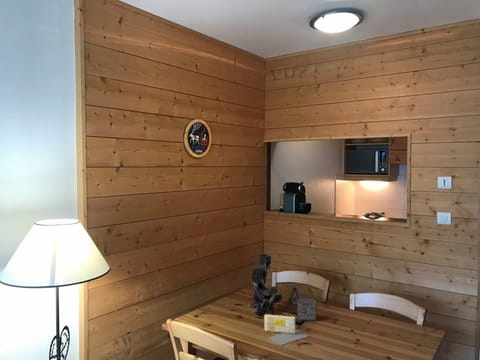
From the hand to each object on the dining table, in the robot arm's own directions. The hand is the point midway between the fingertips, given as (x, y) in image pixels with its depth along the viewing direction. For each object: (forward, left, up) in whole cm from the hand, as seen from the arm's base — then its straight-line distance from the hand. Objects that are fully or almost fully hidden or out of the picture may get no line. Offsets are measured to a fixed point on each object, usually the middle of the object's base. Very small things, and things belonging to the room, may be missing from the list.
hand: (273, 315), depth 203 cm
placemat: (+12, 0, -7) cm, 14 cm away
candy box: (+5, 0, -7) cm, 9 cm away
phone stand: (-23, +35, -7) cm, 42 cm away
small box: (-1, +24, -7) cm, 25 cm away
